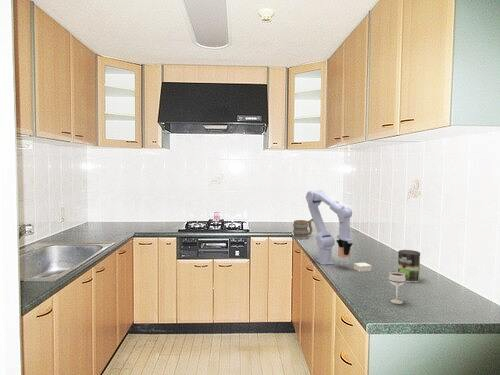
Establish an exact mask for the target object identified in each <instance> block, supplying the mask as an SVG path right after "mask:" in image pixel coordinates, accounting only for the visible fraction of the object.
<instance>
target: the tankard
mask: <svg viewBox="0 0 500 375" xmlns="http://www.w3.org/2000/svg"><path fill="white" fill-rule="evenodd" d="M312 223H314V221H313V218H310V220H305V219H300V220H299V219H298V220H297V219H296V220H294V221H293V224H292V227H293V230H292V233H293V235H292V236H291V238H292V239H294V240H301V241H302V240H308V239H309V238H310V235H312V233H313V225H312ZM308 228H309V229H308Z"/></svg>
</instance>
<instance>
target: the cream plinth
mask: <svg viewBox="0 0 500 375" xmlns="http://www.w3.org/2000/svg"><path fill="white" fill-rule="evenodd" d="M353 269H354V270H355V271H358V272H359V273H361V272H362V273H365V272H366V273H367V272H372V265H371V264H369V263H367V262H354V263H353Z"/></svg>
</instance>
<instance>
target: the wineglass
mask: <svg viewBox="0 0 500 375" xmlns="http://www.w3.org/2000/svg"><path fill="white" fill-rule="evenodd" d="M388 274H389V275H388V281H389V283H391V285H393V286H394V287H395V298H394V299H391V300H390V302H391V303H392V304H399V305H400V304H403V303H404V301H402V300H400V299H398V293H399V292H398V289H399V287H400V286H403V285H405V283H406V282H405V281H406V278H405V275H406V274H405V273H403V272H398V270H396V271H395V270H392V271H389V272H388Z"/></svg>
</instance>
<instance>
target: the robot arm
mask: <svg viewBox="0 0 500 375" xmlns="http://www.w3.org/2000/svg"><path fill="white" fill-rule="evenodd" d="M305 200H306V202H307V205H308V211H309V213H310V216H311V219H313V221H314V222H313V221H312V222H313V223H314V227H315V230H316V231H317V234H316V236H315V240H316V245H317V246H316V247H318V249H317V257H316V258H317V259H316V260H315V262H317V263H318V264H320V265H334V264H335V262H333V261H332V260H333V259H332V258H333V248H334V246H335V243H337V245H338V247H343V248H344V255H348V254H349V251H350V252H351V250H350V248H351V247H352V246H353V245H354V243H353V240H352V236H351V233H350V232H351V229H350V228H351V218H352V217H353V216H352V215H353V210H352V209H351V208H350V207H345V205H342V204H341V203H340V201H338V200H333V199H331V198H330V197H329V196H328V195H326V193H325V192H324V191H323V190H309V191H307V193H306V195H305ZM322 202H323V203H324V204H326V205H327V206H328V207H329V209H330V210H331V211H332V212H334V213H335V214H336V215H337V217H338V222H339V224H338V225H339V226H338V233H339V234H337V236H336V237H337V238H336V240H335V238H334V237H333V235H332V233H331V232H329V231H328V230H327V228H326V225H325V223H324V219H323V216H322V214H321V211H320V210H319V209H320V208H319V206H320V205H321V204H322ZM335 241H336V242H335Z"/></svg>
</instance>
